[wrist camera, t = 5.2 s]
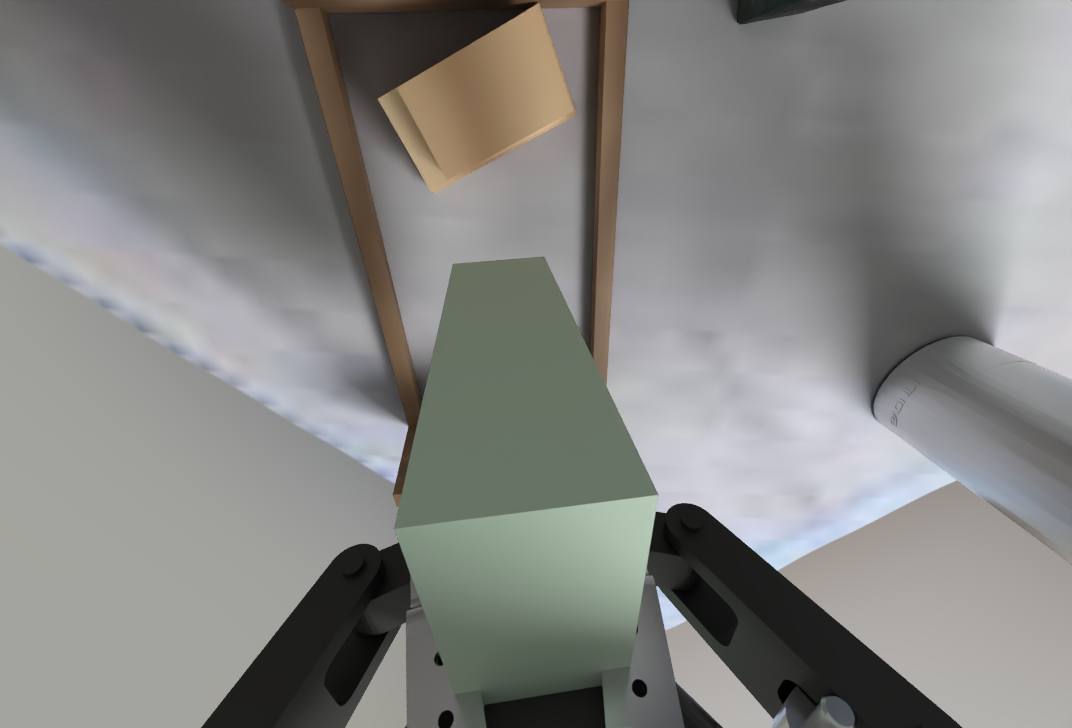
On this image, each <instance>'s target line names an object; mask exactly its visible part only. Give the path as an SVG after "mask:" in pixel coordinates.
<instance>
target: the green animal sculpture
mask: <svg viewBox="0 0 1072 728" xmlns="http://www.w3.org/2000/svg"><path fill="white" fill-rule="evenodd" d="M842 1H846V0H740V1H739V7H738V15H737V23H739V24H747V23H751V22H756V21H762V20H767V19H772V18H778V17H783V16H789V15H794V14H799V13H804V12H807V11H810V10H814V9H817V8H820V7H824V6H827V5H831V4H835V3H838V2H842Z"/></svg>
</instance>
